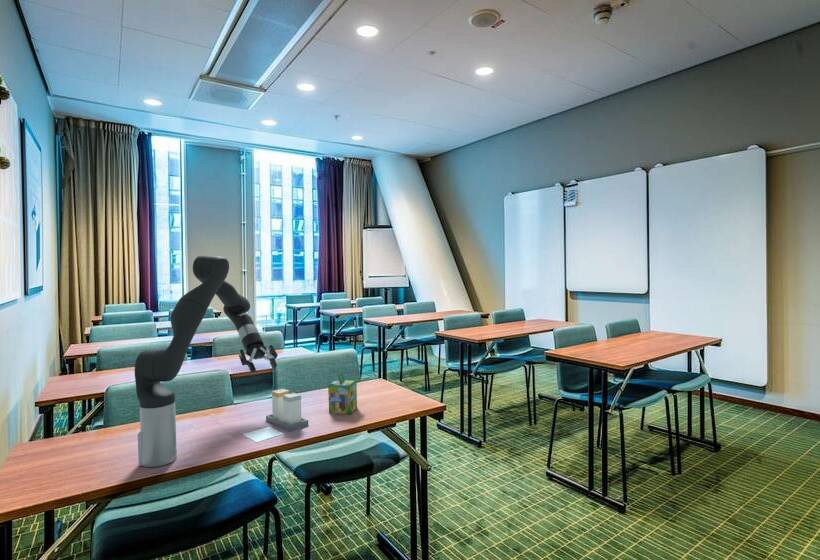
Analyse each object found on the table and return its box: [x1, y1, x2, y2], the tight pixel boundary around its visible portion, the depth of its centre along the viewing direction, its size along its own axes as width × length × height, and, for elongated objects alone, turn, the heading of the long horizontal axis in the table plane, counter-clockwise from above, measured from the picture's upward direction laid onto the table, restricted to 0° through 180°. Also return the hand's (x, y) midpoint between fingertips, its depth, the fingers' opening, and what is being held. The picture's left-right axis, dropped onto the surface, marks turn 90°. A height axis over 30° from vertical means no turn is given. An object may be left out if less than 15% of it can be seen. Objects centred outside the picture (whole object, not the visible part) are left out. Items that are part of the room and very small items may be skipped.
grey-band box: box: [283, 392, 302, 425], centre depth 159 cm, size 5×5×11 cm
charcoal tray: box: [265, 413, 309, 432], centre depth 162 cm, size 16×8×2 cm, turn 46°
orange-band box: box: [271, 388, 290, 422], centre depth 165 cm, size 5×5×11 cm
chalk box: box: [327, 372, 358, 415], centre depth 176 cm, size 9×9×15 cm
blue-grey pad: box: [242, 426, 285, 444], centre depth 151 cm, size 10×10×1 cm
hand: (264, 369), depth 173 cm, fingers open, 8 cm apart
